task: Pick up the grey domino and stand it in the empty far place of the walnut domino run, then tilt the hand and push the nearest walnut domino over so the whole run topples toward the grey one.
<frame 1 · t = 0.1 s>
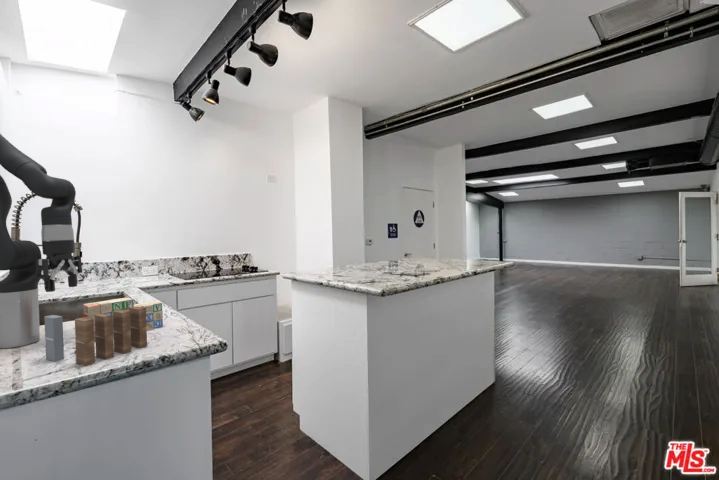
hand: (62, 289, 101), 17 cm above the counter, tool pointing down, fingers open, 8 cm apart
domino 2: (105, 356, 88), on the counter
stack of blocks: (126, 334, 109), on the counter
domino 3: (122, 351, 92), on the counter
domino 4: (138, 346, 96), on the counter
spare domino: (55, 358, 87), on the counter
domino 1: (85, 363, 84), on the counter
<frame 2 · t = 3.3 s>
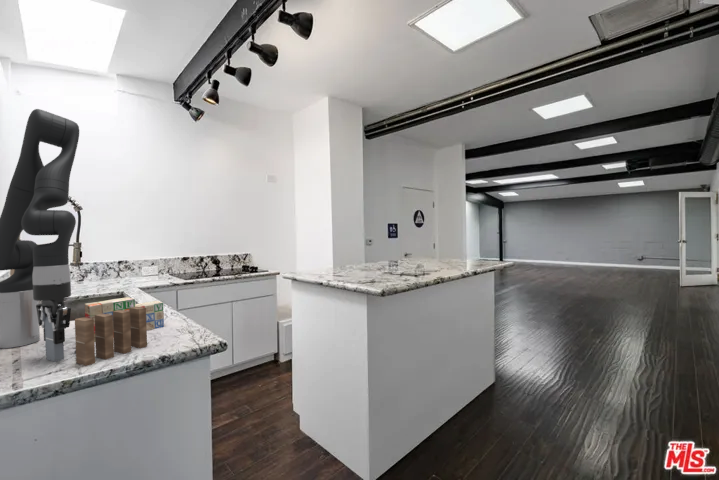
hand: (54, 341, 87), 5 cm above the counter, tool pointing down, fingers closed on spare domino, 5 cm apart
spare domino: (54, 359, 87), on the counter, touching gripper
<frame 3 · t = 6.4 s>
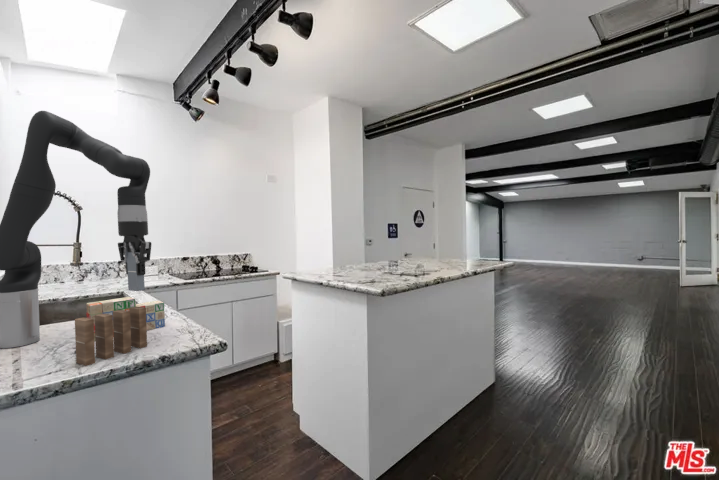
hand: (135, 274, 97), 22 cm above the counter, tool pointing down, fingers closed on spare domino, 5 cm apart
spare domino: (136, 290, 97), point 17 cm above the counter, touching gripper
when the fingers open (6 cm above the counter, at t = 9.7 s): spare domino stays where it is, on the counter.
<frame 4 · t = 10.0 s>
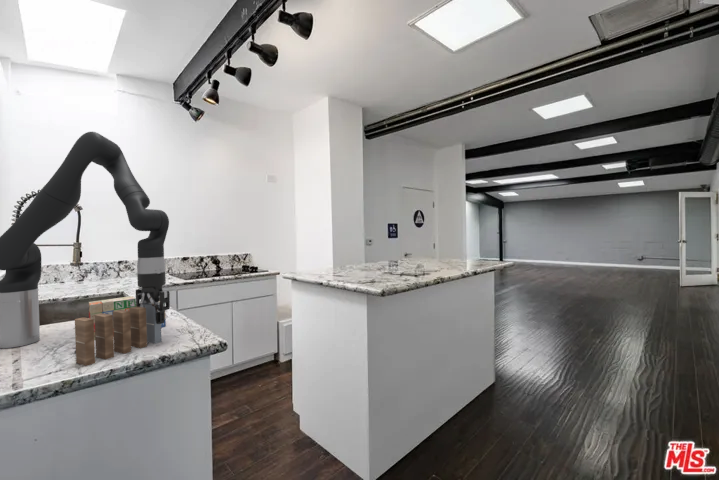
hand: (153, 322, 100), 6 cm above the counter, tool pointing down, fingers open, 7 cm apart
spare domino: (153, 341, 100), on the counter
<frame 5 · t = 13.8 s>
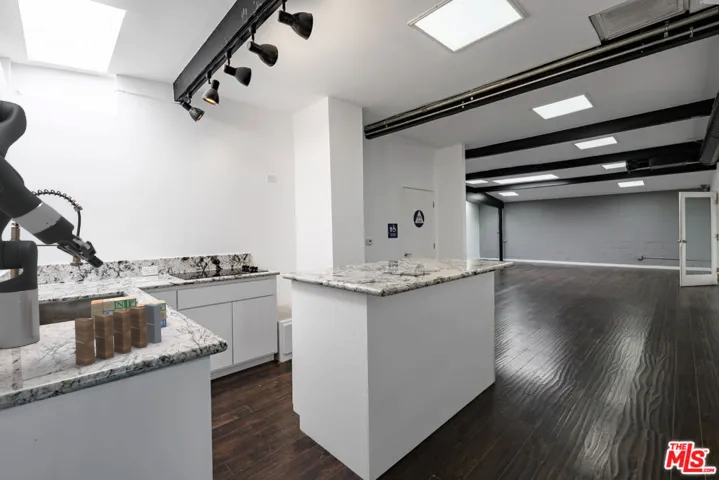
hand: (99, 265, 92), 26 cm above the counter, tool tilted 45°, fingers closed
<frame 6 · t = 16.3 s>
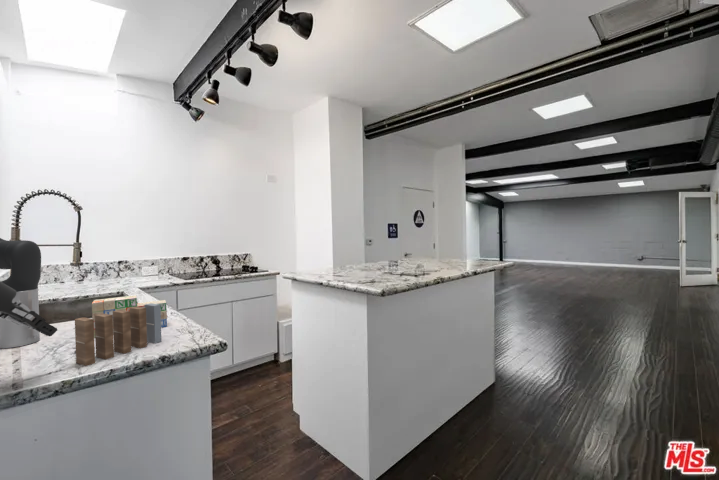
hand: (53, 332, 78), 10 cm above the counter, tool tilted 45°, fingers closed
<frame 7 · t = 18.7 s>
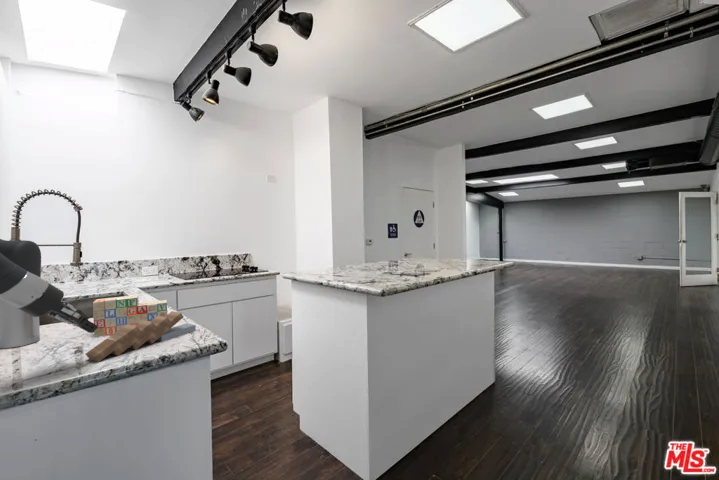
hand: (93, 329, 86), 8 cm above the counter, tool tilted 45°, fingers closed
domino 2: (111, 352, 89), point 1 cm above the counter, tilted 63°, touching domino 1, domino 3
domino 3: (129, 346, 94), point 1 cm above the counter, tilted 62°, touching domino 2, domino 4
domino 4: (146, 340, 98), point 1 cm above the counter, tilted 62°, touching domino 3, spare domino
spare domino: (157, 337, 101), point 1 cm above the counter, tilted 90°, touching domino 4
domino 1: (91, 357, 85), point 1 cm above the counter, tilted 64°, touching domino 2
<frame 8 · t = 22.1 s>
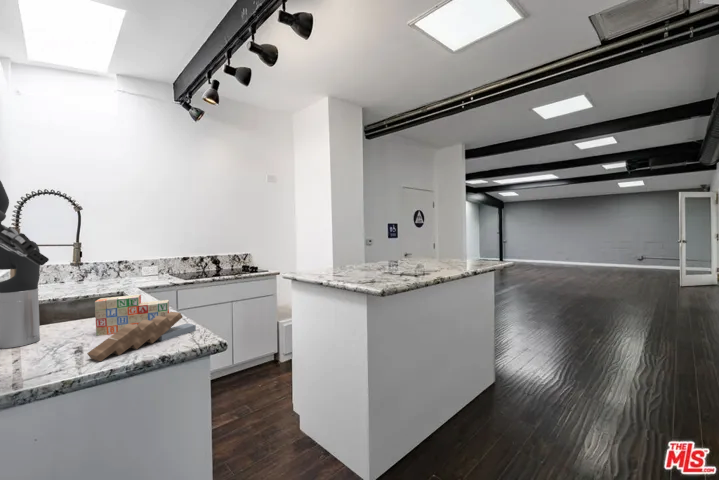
hand: (44, 262, 78), 28 cm above the counter, tool tilted 45°, fingers closed
domino 3: (129, 346, 94), point 1 cm above the counter, tilted 62°, touching domino 2, domino 4
at the end: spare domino tilted 90°; domino 3 tilted 63°; domino 1 tilted 63° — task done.
